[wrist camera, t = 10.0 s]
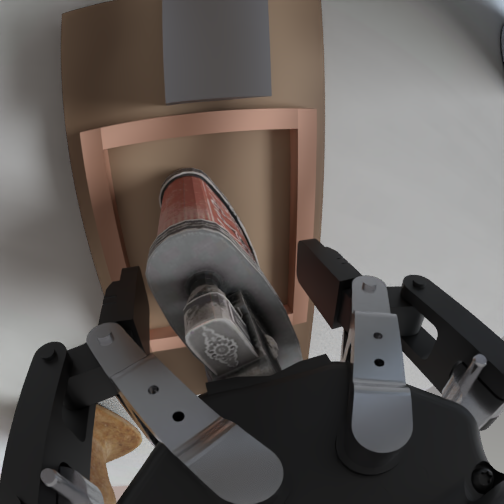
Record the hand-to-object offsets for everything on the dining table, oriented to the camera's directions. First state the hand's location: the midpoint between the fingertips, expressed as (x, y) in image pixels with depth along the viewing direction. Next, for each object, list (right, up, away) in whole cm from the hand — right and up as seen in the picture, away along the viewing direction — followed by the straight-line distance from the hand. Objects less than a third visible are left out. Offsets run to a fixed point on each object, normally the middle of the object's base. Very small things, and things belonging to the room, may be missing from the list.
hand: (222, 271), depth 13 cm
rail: (-1, +2, +4) cm, 5 cm away
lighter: (-1, +2, +3) cm, 4 cm away
